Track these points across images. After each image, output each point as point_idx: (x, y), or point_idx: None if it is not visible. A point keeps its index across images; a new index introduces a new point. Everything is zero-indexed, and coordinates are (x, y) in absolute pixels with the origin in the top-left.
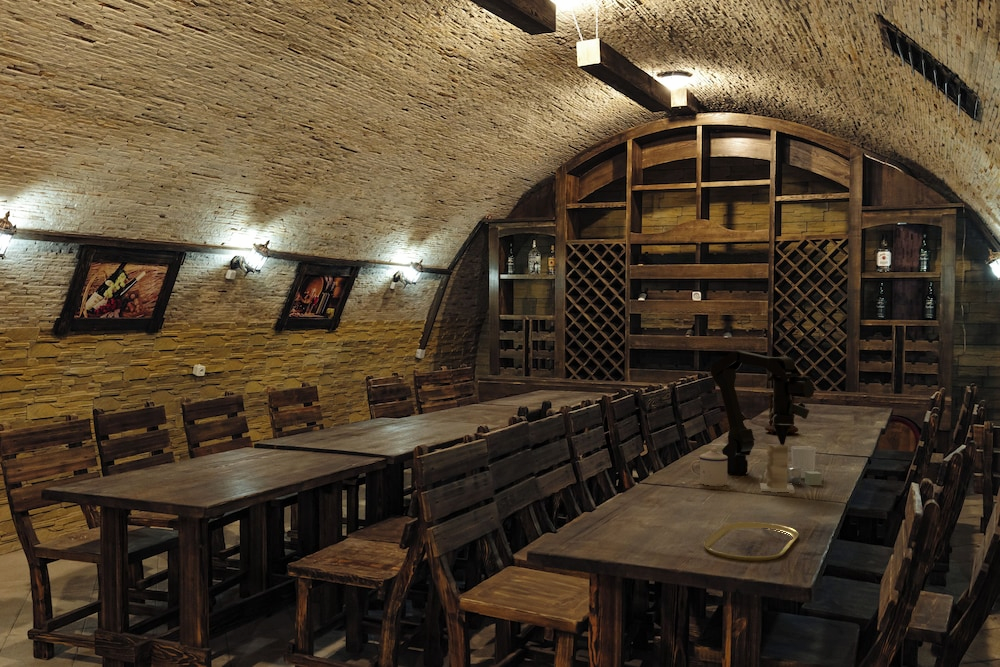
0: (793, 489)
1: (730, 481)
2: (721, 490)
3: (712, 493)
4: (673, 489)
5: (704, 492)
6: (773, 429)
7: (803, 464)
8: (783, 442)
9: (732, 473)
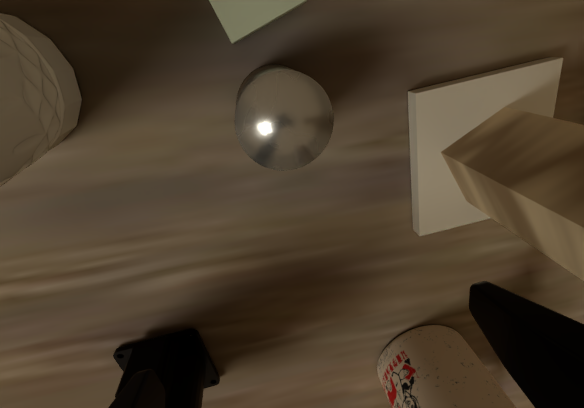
0: (545, 67)
1: (352, 332)
2: None
3: (572, 316)
4: (527, 397)
5: None
6: None
7: (28, 83)
8: (514, 303)
9: (213, 368)
